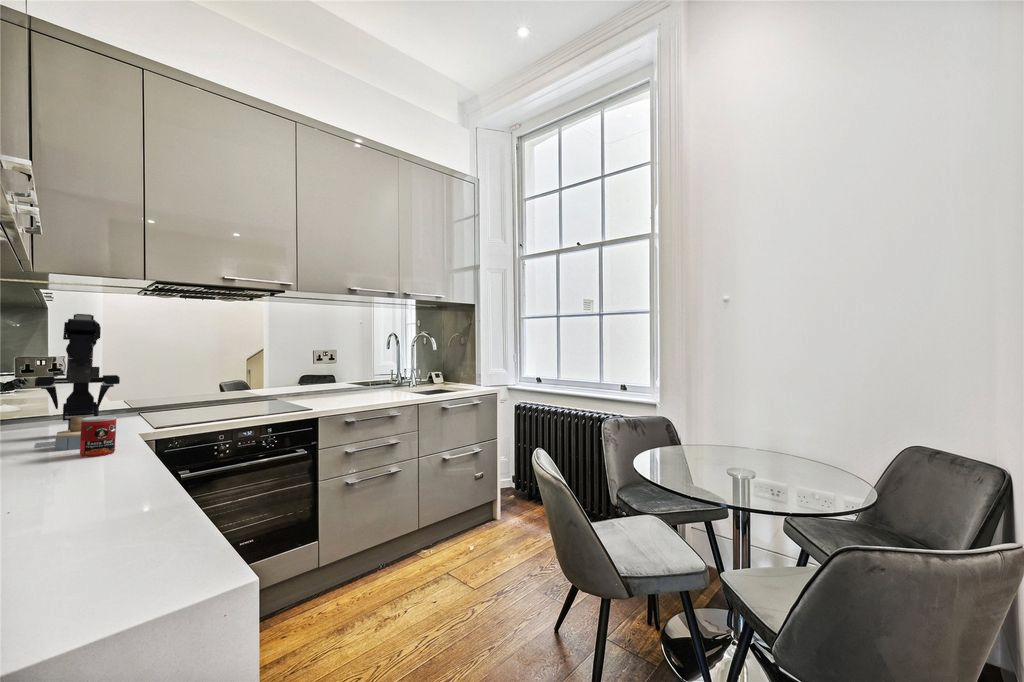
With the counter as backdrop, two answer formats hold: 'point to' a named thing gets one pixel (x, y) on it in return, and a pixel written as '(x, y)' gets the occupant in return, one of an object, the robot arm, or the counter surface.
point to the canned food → (97, 436)
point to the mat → (45, 444)
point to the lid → (72, 428)
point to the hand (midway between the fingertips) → (78, 407)
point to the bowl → (67, 443)
